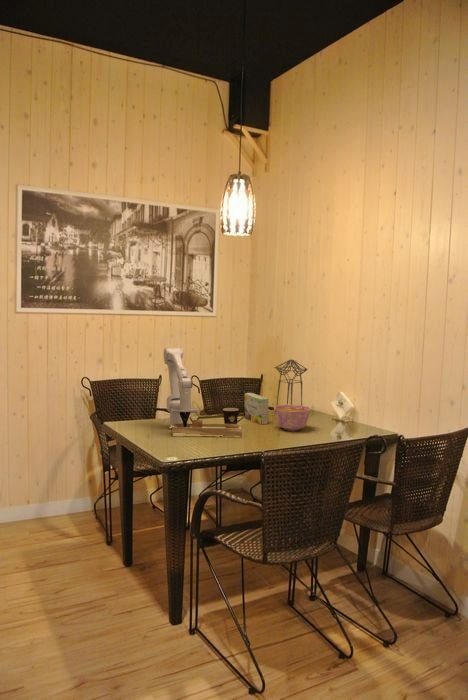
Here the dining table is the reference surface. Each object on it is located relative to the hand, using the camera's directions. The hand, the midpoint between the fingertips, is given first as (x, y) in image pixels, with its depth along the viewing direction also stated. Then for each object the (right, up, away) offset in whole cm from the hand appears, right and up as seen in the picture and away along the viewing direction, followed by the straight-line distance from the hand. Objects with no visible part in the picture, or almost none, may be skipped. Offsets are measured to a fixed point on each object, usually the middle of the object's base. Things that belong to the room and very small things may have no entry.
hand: (185, 426), depth 288 cm
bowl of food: (+57, -4, +15) cm, 59 cm away
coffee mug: (+25, -3, +17) cm, 30 cm away
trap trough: (+11, -4, 0) cm, 12 cm away
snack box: (+38, -2, +35) cm, 52 cm away
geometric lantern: (+59, -1, +48) cm, 77 cm away
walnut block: (+6, -1, 0) cm, 6 cm away
